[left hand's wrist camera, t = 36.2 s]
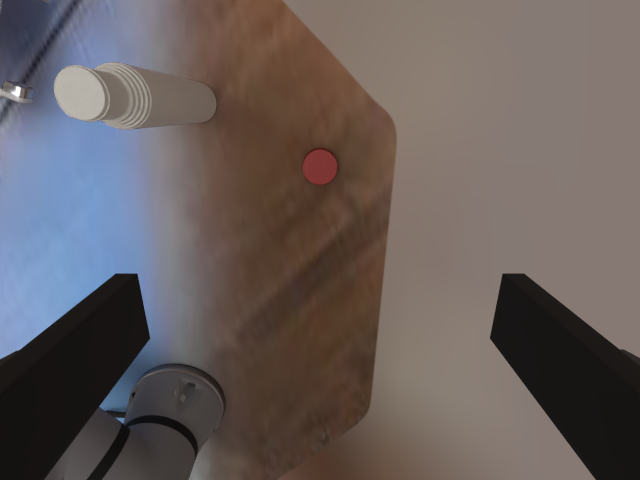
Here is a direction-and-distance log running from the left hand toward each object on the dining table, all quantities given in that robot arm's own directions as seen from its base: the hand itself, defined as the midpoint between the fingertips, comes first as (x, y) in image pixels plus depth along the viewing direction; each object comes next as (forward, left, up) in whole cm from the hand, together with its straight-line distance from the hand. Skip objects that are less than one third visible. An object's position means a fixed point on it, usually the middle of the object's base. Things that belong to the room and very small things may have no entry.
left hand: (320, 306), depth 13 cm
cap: (0, 0, -34) cm, 34 cm away
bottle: (-13, +11, -36) cm, 40 cm away
